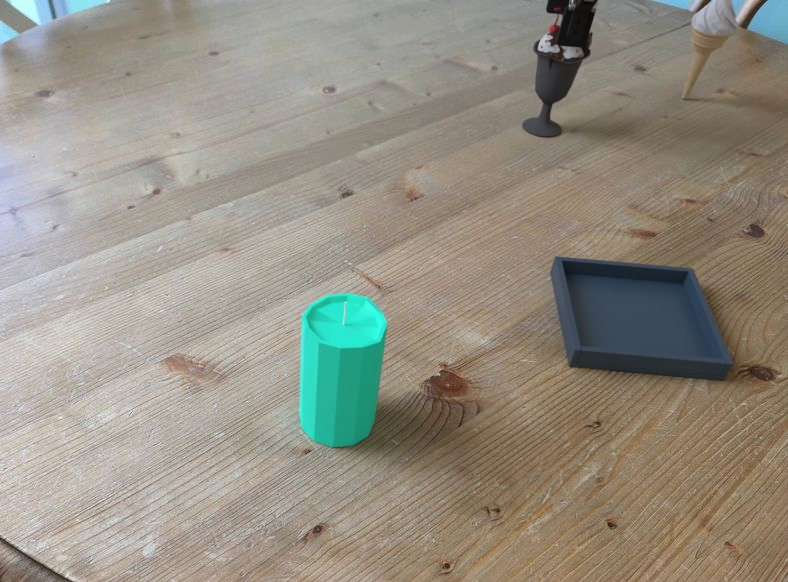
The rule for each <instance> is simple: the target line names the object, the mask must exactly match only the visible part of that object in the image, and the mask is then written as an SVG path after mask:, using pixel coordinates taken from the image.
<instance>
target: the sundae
mask: <svg viewBox="0 0 788 582" xmlns="http://www.w3.org/2000/svg"><path fill="white" fill-rule="evenodd" d="M560 9H561V8H560V7H559V8H554V10H555V11H556V12H557V14H556V15H557V17H556V19H555V21H554V24H551V25H550V27H549V32H547V33H546V34H544V35H543V36H542V37H541V38H540V39H538V40H536V41H535V43H534V44H533V47H532V49H533V53H535V55H537V56H536V57H537V58H536V60H537V61H536V62H537V63H536V70H535V71H536V72H535V80H534V92H535V93H536V95H537V97H538V98H539V100H541V102H542V107H541V110H540V113H539V115H538V116H537V117H529V118H526V119H525V120H523V121H522V124H521V125H522V128H523V130H524V131H526V132H527V133H528V134H531V135H533V136H536V137H541V138H552V137H557V136H558V135H560V134H561V132H562V126H561V125H560V124H559V123H558V122H556V121H555V120H553V119H551V113H552V108H553V105H554V104H556V103H558V102H560V101H562V100H563V99H564V98H566V97H567V96H568V93H569V92H570V90H571V88H572V86H573V83H574V81H575V79H576V77H577V74H578V71H579V69H580V67H581V65H582V63H583V60H586V59H588V58H589V57H590V56H591V55H592V54H591V51H592V50H591V49H590V48H591V46H592V42H593V34H594V33H593V32H592V31H590V32H589V36H588V39H587V42H586V45H585V47H583V48H579V47H568V46H559V45H557V42H556V40H557V36H558V32H559V29H560V25H559V24H558V21H559V18H560V17H559V16H560V15H561V16H562V17H563V14H562V12H561V10H560ZM558 11H560V12H561V14H558Z"/></svg>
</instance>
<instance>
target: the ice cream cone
mask: <svg viewBox="0 0 788 582" xmlns="http://www.w3.org/2000/svg"><path fill="white" fill-rule="evenodd" d="M736 17H737V15H736V12H735V7H734V5H733V0H711V1H710V2H708V3H707V4H706V5H705V6H704V7H702V8H701V9H700V10H698V11H697V12H696V13H695V14H693V16H692V18H691V23H690V27H691V38H690V41H691V42H692V44H693V47H694V53H693V57H692V60H691V63H690V66H689V70H688V74H687V77H686V80H685V84H684V87H683V92H682V95H681V96H682V99H683V100H687V98H688V97H689V96H690V94H691V91H692V90H693V88H694V86H695V85H696V83H697V81H698V78H699V77H700V75H701V73H702V72H703V70H704V68H705V66H706V64H707V62H708V61H709V58H710V56H711V54H712V53H714V52H715V51H716V50H718V49H720V48H722V47H723V46H724V44H726V41H727V40H728V39H729V37H731V36H733V35H734V32H735V31H736V29H737V28H738V25H739V23H738V21H737V20H736Z"/></svg>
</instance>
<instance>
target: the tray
mask: <svg viewBox="0 0 788 582" xmlns="http://www.w3.org/2000/svg"><path fill="white" fill-rule="evenodd" d="M549 273H550V279H551V283H552V288H553V293H554V294H553V295H554V298H555V303H556V310H557V313H558V318H559V323H560V328H561V334H562V339H563V344H564V348H565V353H566V358H567V359H566V360H567V364H568V367H573V368H574V367H575V368H584V369H585V368H586V369H596V370H604V371H605V370H606V371H616V372H617V371H618V372H627V373H637V374H638V373H639V374H649V375H661V376H669V377H670V376H672V377H681V378H691V379H702V380H703V379H704V380H713V381H725V380H726V379H727V377H728V375H729V374H730V372H731V370H732V369H733V367H734V361H733V359H732V356H731V353H730V352H729V349H728V346H727V345H726V343H725V340H724V338H723V335H722V333H721V330H720V328H719V326H718V324H717V322H716V319H715V317H714V315H713V312H712V310H711V307H710V305H709V301H708V300H707V298H706V295H705V293H704V291H703V288H702V286H701V284H700V281H699V279H698V277H697V274H696V271H695V270H694V268H693V267H684V266H671V265H660V264H659V265H658V264H649V263H637V262H625V261H615V260H614V261H613V260H603V259H602V260H601V259H591V258H581V257H580V258H579V257H567V256H554V259H553V262H552V266H551V269H550V272H549Z"/></svg>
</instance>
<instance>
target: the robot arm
mask: <svg viewBox="0 0 788 582" xmlns="http://www.w3.org/2000/svg"><path fill="white" fill-rule="evenodd" d="M598 4H599V0H547V3H546V7H545V12H546V13H548V14H551V15H552V14H554V15H557V12H556V11H555V10H554V8H559V7H560V8H561V9H560V10H561V12H562V14H563V17H562V18H561V21H560V25H559V26H560V29H559V32H558V36H557V40H556V42H557V45H559V46H568V47H579V48H583V47H585V45H586V42H587V39H588V36H589V33H590V32H591V29H592V25H593V22H594V18H595V15H596V11H597V8H598ZM561 12H560V11H558V14H559V15H562V14H561Z"/></svg>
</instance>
